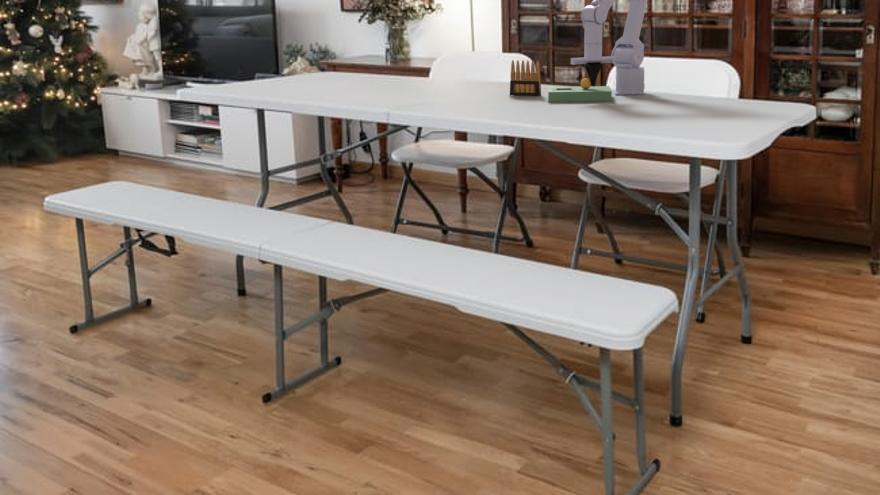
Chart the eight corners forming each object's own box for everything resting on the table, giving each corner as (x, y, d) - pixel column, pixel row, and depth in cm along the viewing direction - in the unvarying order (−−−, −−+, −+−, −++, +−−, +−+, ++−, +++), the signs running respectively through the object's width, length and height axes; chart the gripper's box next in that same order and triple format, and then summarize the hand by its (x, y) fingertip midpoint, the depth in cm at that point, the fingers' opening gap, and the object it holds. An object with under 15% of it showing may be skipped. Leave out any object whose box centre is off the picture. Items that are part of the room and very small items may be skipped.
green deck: (609, 96, 331) (609, 86, 330) (611, 101, 317) (611, 91, 316) (548, 96, 333) (548, 86, 332) (548, 102, 320) (548, 92, 319)
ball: (591, 87, 325) (589, 76, 325) (592, 88, 322) (590, 77, 321) (581, 89, 326) (579, 79, 325) (581, 90, 323) (579, 80, 322)
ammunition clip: (541, 95, 337) (541, 59, 333) (539, 96, 335) (539, 60, 332) (511, 95, 341) (511, 59, 337) (509, 95, 339) (509, 60, 336)
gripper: (610, 41, 325) (609, 83, 329) (567, 43, 322) (567, 85, 326) (618, 43, 318) (617, 86, 322) (574, 45, 316) (574, 88, 319)
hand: (592, 86), depth 323 cm, fingers closed, pressing on ball
